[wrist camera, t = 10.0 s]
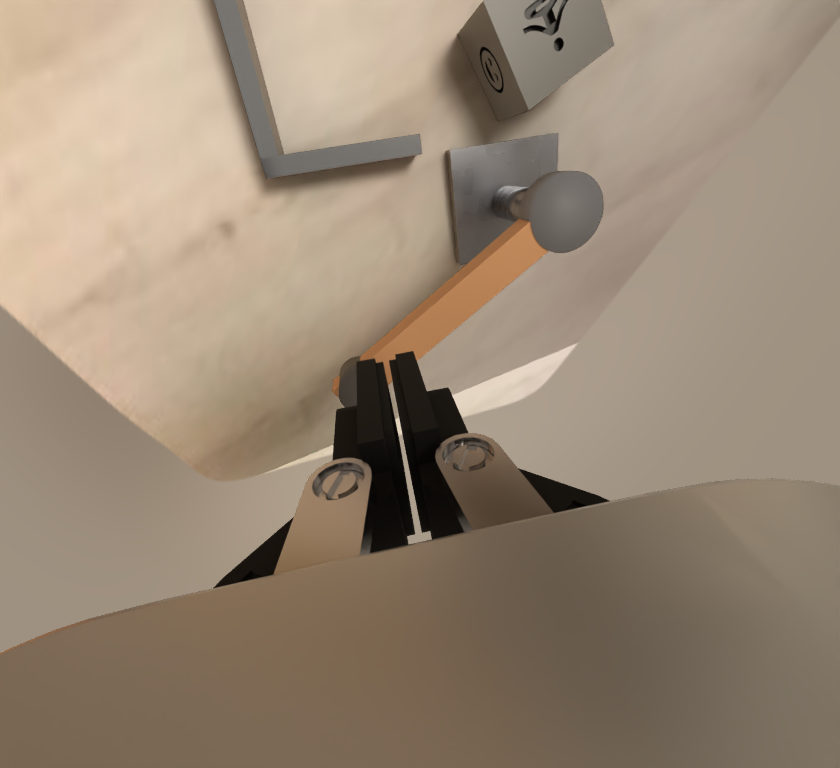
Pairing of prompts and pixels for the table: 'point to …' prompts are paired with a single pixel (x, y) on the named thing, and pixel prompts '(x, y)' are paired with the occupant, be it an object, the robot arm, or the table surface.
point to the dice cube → (532, 48)
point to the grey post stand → (493, 187)
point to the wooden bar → (491, 269)
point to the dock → (264, 121)
